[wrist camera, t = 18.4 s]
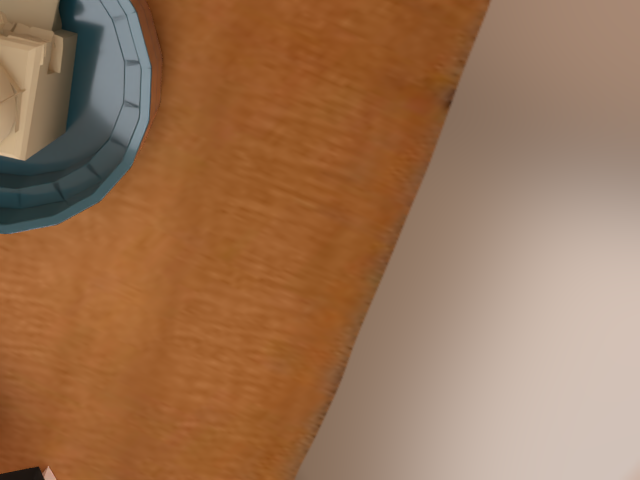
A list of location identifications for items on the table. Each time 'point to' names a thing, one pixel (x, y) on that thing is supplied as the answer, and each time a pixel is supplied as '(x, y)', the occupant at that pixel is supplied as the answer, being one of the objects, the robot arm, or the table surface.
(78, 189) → the shallow teal bowl
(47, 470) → the white rectangular box
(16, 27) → the robot
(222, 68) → the table surface
